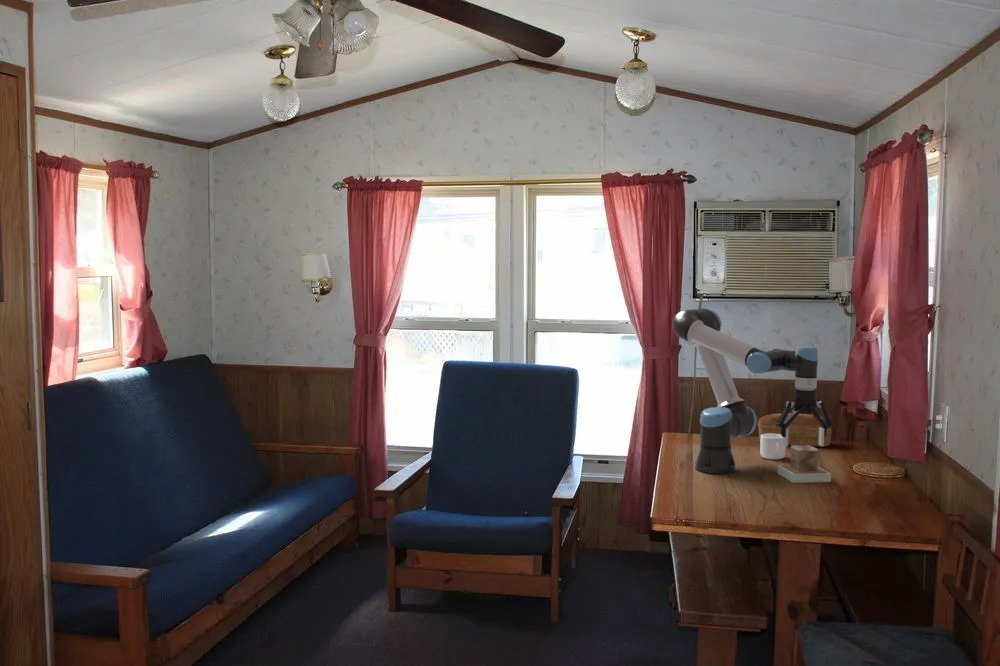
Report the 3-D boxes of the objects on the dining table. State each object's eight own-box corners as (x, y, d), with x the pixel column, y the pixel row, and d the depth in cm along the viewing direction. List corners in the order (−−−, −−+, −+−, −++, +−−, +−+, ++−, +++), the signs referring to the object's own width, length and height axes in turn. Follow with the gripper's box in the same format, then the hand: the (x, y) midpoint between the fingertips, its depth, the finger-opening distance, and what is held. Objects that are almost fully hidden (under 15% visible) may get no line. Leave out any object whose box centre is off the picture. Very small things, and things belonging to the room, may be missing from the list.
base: (793, 482, 307) (793, 473, 307) (777, 473, 321) (777, 464, 320) (830, 481, 308) (831, 472, 308) (813, 472, 322) (813, 463, 322)
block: (798, 471, 310) (799, 449, 310) (790, 466, 317) (790, 445, 317) (817, 470, 311) (817, 449, 310) (808, 466, 318) (809, 445, 317)
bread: (757, 439, 385) (758, 410, 384) (830, 443, 375) (831, 413, 374) (757, 444, 374) (757, 414, 372) (832, 449, 364) (833, 417, 363)
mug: (792, 461, 340) (792, 439, 340) (766, 461, 340) (766, 439, 340) (781, 455, 352) (782, 433, 352) (757, 455, 352) (757, 433, 352)
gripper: (776, 390, 307) (774, 448, 309) (843, 390, 309) (840, 447, 311) (768, 387, 315) (766, 443, 317) (833, 386, 317) (831, 442, 319)
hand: (803, 445), depth 314 cm, fingers open, 13 cm apart
